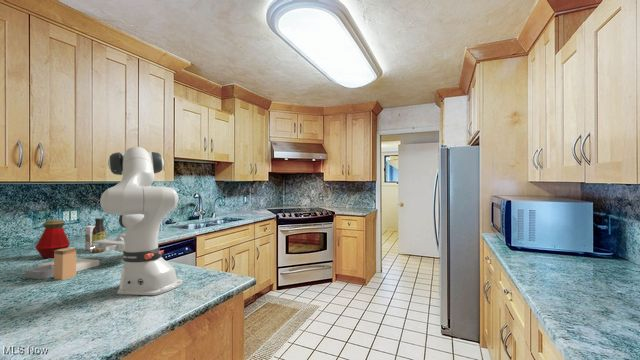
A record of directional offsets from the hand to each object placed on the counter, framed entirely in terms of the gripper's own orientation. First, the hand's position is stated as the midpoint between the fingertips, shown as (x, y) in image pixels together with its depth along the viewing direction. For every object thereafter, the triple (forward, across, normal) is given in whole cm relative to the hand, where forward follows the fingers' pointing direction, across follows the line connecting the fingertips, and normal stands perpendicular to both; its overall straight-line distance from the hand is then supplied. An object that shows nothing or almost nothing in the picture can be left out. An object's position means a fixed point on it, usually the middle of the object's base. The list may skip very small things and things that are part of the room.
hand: (97, 248), depth 130 cm
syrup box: (-28, -42, +10) cm, 51 cm away
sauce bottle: (-24, -32, +10) cm, 41 cm away
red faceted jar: (-10, -46, +10) cm, 48 cm away
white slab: (+7, -14, +9) cm, 18 cm away
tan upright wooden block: (+13, 0, +9) cm, 16 cm away
